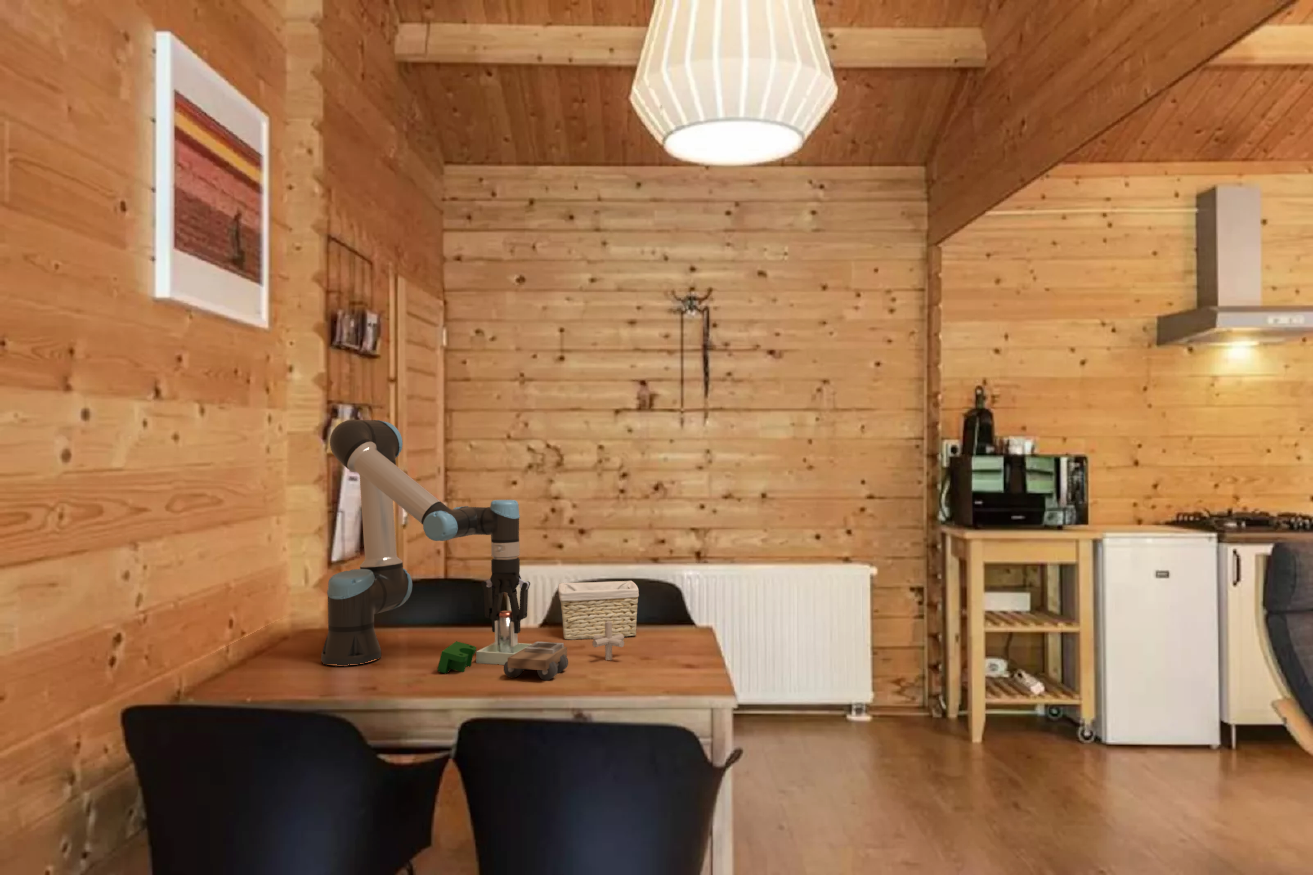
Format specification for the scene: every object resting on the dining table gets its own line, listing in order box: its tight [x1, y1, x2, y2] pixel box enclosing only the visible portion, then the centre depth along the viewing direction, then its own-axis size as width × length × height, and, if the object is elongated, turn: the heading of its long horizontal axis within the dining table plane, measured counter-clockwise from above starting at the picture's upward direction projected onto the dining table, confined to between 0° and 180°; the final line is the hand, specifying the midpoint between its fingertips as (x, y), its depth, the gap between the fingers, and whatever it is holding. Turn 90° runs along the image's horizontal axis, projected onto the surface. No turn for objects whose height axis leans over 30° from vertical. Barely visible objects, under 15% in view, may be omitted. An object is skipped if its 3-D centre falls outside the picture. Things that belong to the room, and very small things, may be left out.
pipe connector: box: [592, 621, 625, 661], centre depth 229 cm, size 10×10×10 cm
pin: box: [498, 610, 514, 653], centre depth 231 cm, size 4×4×12 cm
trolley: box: [503, 641, 569, 681], centre depth 215 cm, size 13×14×6 cm
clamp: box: [437, 640, 477, 674], centre depth 221 cm, size 12×6×9 cm, turn 169°
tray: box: [475, 641, 533, 666], centre depth 231 cm, size 12×12×3 cm
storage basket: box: [557, 580, 640, 641], centre depth 261 cm, size 24×16×15 cm
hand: (506, 644), depth 231 cm, fingers closed on pin, 4 cm apart
